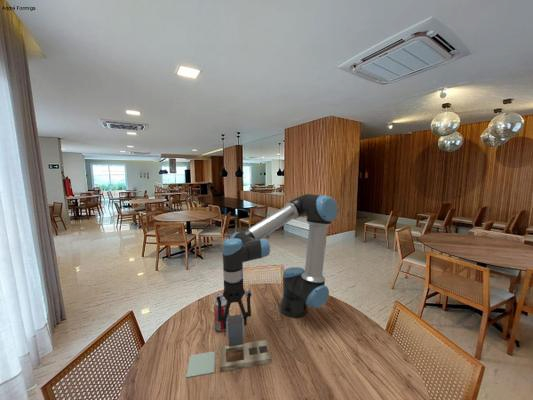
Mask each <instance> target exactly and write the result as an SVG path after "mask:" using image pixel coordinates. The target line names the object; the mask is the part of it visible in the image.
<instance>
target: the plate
mask: <svg viewBox="0 0 533 400" xmlns="http://www.w3.org/2000/svg"><path fill="white" fill-rule="evenodd" d="M235 352H242V355H243V356H242V357H243V359H241V360H235V361H228V362H227V354H230V353H235ZM271 363H272V356H271V352H270V348H269V345H268V341H267V339H264V340H257V341H256V340H255V341H250V342H245V343H244V342H243V345H237V346H231V347H229V345H224V346H219V373H222V372H228V371H233V370H238V369H239V370H240V369H247V368H251V367H256V366H261V365H267V364H271Z"/></svg>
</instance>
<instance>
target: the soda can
mask: <svg viewBox="0 0 533 400" xmlns="http://www.w3.org/2000/svg"><path fill="white" fill-rule="evenodd" d="M226 303H227V300H226V299H225V298H223V300H222V301H221V316H223V315H224V311H225V307H226ZM213 309H214V310H213V312H214V313H213V314H214V329H216V331H218V332H225V331H226V329H224V328H223V321H218V302H217V300H216V301H215V302H214V307H213ZM228 316H230V310H229V311H228V315H227V318H228Z"/></svg>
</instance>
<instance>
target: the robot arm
mask: <svg viewBox="0 0 533 400" xmlns="http://www.w3.org/2000/svg"><path fill="white" fill-rule="evenodd" d="M338 208H339V207H338V203H337V202H336V200H335V199H334V198H333V197H332V196H329V195H324V194H311V193H307V194H302V195H299V196H297V197H295V198H293V199H292V200H290V201H288V202H286V203H285V205H284V206H283V207H282V208H281V209H278V210H276V211H275V212H273V213H272V214H270V215H268V216H267V217H265V218H264V219H262V220H261V221H259V222H257V223H256V224H254V225H252V226H251V227H248V228H247V229H245V230H243V231H241V232H240V231H237V232H236V231H235V232H234V233H233V234H232V235H231V237H230V238H226V239H224V240H223V242H222V248H221V250H222V252H221V254H222V266H223V267H222V271H223V274H222V275H223V292H222V293H221V294H220V293H217V294H216V301H217V302H218V321H223V328H224V329H226V330H225V331H226V332H225V333H226V338H228V339H229V336H228V318H227V315H228V311H229V312H230V308H231V305H232V304H233V303H238V306H239V309H240V312H241V313H242V314H241V317H242V325H243V336H245V327H246V326H247V323H248V320H247V319H248V318H250V317H252V306H251V298H252V292H251V290H249V289H248V290H245V289H244V267H243V266H244V265H243V264H244V263H246V262H251V261H254V260H255V261H256V260H258V259H262V258H265V257H268V256H269V254H270V252H271V246H270V243H269V241H268V240H267V239H266V238H265V237H267V236H269V235H271V233H273V232H275V231H276V230H278V229H279V228H281V227H283V226H284V225H285V224H287V223H289V222H290V221H291V220H297V219H298V218H300V217H306V222H307V224H308V225H309V226H308V234H307V244H306V245H307V246H306V255H305V265H304V268H302V267H298V266H296V267H295V266H291V267H288V268H285V269H284V271H283V272H282V273H283V275H282V286H283V287H282V289H283V290H282V297H281V299H280V303H279V310H280V312H281V313H282V314H283V315H284V316H286V317H289V318H301V317H303V316H305V315H306V314H307V313H308V306H309V307H312V308H313V309H317V308H321V307H322V306H323V305H324V304H325V303H326V302H327V300H328V298H329V294H330V290H329V288H328V286H326V284H325V283H326V278H325V277H324V275H323V270H324V263H325V253H326V252H325V250H326V242H327V231H328V228H329V226H331V225H332V221H334V220H335V219H336V217H337V215H338V212H339V211H338V210H339V209H338ZM243 297H245V298H246V309H247V311H246V309H245V306H244V303H243V301H242V299H243ZM223 299H226V300H227V303H226V307H225V311H224V315H223V316H221V301H222V300H223Z"/></svg>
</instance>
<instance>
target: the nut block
mask: <svg viewBox="0 0 533 400" xmlns="http://www.w3.org/2000/svg"><path fill="white" fill-rule="evenodd" d="M241 316H242V314H235V315H229V316H228V336H229V337H228V346H229V347H231V346H237V345H243V343H244V335H243V325H242V317H241Z"/></svg>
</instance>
